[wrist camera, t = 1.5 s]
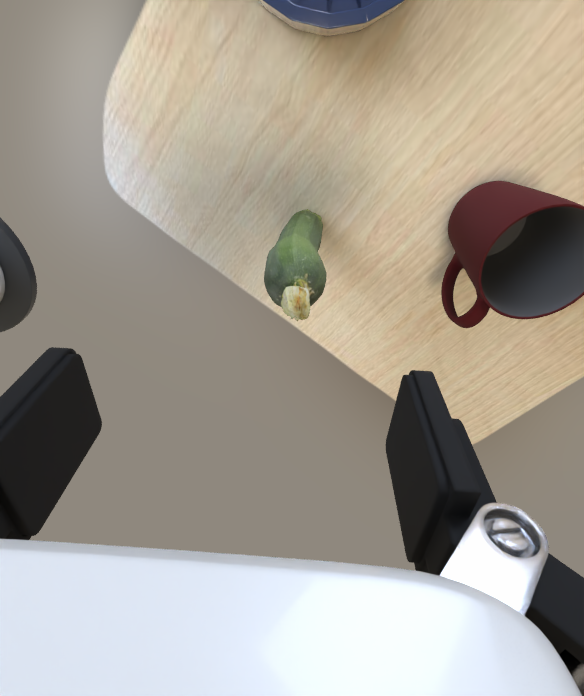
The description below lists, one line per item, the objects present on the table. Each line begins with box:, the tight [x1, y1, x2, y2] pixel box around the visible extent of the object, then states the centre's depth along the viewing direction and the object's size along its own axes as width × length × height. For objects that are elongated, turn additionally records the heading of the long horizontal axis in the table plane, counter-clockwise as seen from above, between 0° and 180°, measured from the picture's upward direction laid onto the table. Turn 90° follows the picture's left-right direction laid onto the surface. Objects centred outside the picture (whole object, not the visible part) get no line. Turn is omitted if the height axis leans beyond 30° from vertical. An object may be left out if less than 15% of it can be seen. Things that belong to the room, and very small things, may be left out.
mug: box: [442, 181, 584, 328], centre depth 34 cm, size 12×9×11 cm
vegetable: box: [264, 209, 326, 321], centre depth 30 cm, size 4×4×20 cm
